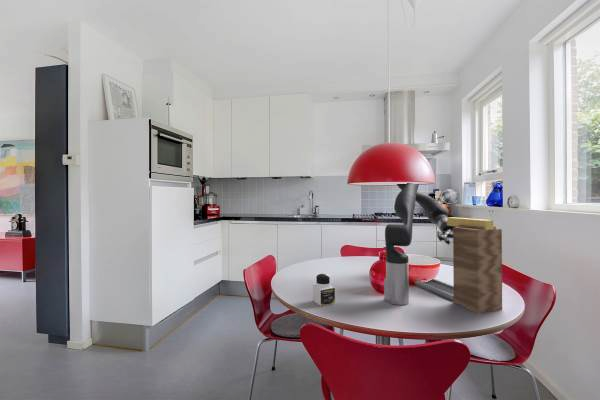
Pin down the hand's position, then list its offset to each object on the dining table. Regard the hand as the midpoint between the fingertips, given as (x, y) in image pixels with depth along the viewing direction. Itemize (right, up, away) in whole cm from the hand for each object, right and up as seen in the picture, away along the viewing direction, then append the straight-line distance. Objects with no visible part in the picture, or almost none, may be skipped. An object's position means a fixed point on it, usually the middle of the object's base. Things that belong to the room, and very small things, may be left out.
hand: (458, 242), depth 134 cm
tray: (-7, -24, +2) cm, 25 cm away
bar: (-3, +8, -13) cm, 16 cm away
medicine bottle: (-64, -25, -11) cm, 70 cm away
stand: (-2, -24, -17) cm, 29 cm away
